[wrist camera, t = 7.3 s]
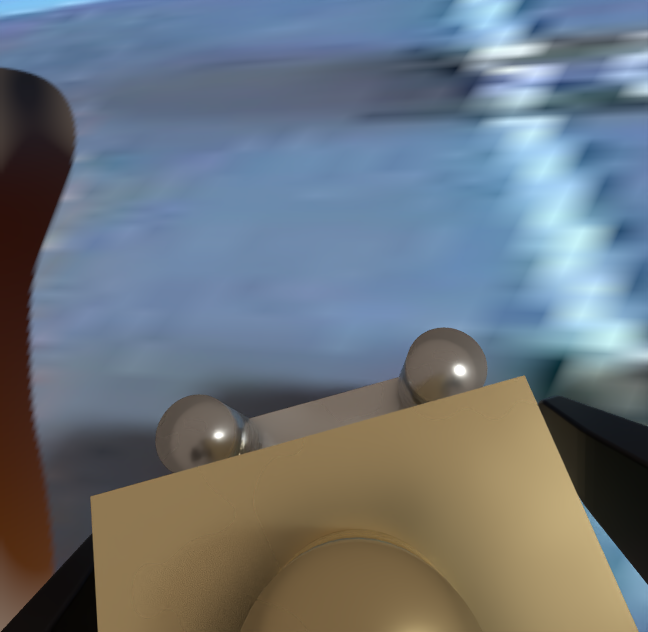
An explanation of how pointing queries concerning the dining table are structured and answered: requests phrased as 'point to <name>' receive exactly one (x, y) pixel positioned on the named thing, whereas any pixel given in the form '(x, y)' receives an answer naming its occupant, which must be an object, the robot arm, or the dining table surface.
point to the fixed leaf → (319, 405)
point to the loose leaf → (365, 532)
